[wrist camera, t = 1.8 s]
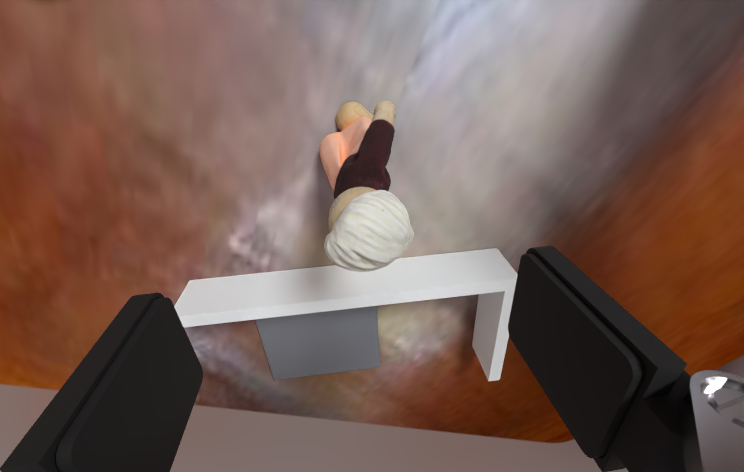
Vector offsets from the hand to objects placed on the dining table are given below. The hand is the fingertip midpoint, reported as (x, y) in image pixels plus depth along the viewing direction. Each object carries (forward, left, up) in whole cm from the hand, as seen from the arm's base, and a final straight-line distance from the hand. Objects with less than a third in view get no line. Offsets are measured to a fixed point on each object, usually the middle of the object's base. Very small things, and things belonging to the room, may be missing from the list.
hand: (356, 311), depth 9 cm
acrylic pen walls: (0, +14, -15) cm, 21 cm away
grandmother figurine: (-1, 0, -15) cm, 15 cm away
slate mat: (+3, +16, -15) cm, 22 cm away
